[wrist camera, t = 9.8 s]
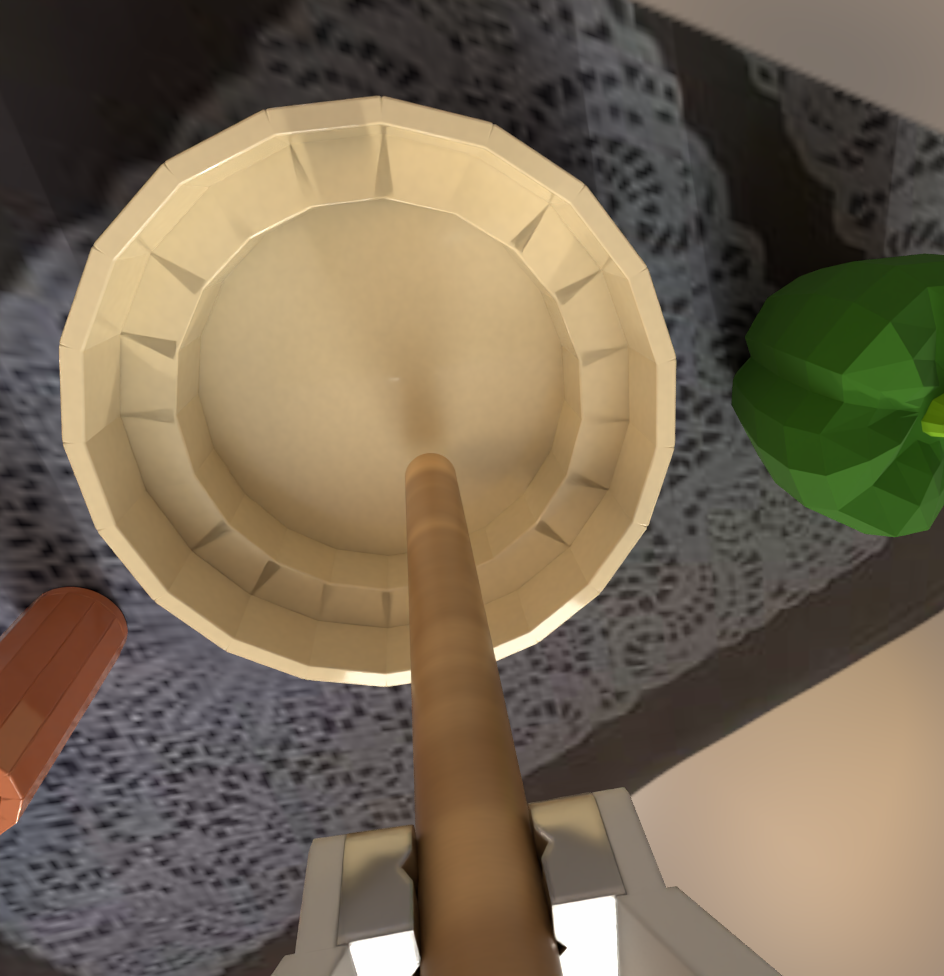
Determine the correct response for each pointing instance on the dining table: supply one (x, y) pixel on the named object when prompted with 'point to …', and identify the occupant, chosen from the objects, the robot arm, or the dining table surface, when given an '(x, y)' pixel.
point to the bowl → (363, 381)
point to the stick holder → (50, 684)
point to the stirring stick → (465, 759)
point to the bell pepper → (852, 392)
